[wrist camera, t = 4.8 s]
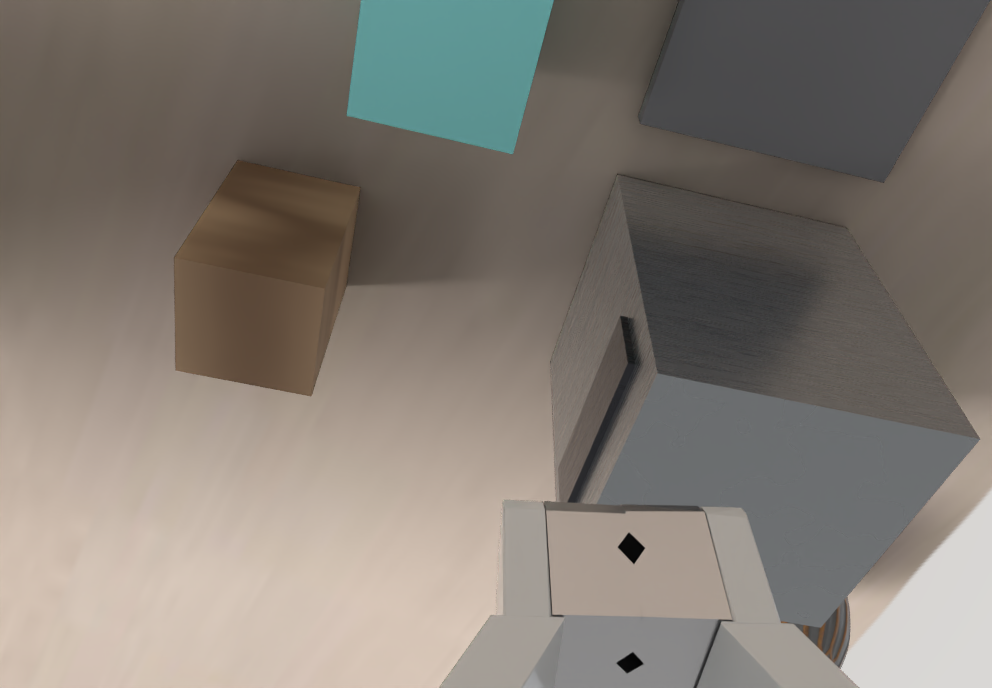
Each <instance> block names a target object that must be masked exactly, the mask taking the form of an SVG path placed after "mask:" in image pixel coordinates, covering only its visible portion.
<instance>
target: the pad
mask: <svg viewBox="0 0 992 688" xmlns="http://www.w3.org/2000/svg"><path fill="white" fill-rule="evenodd" d="M989 2H990V0H679V3H678V6H677V8H676V11H675V14H674V17H673V20H672V22H671V25H670V28H669V31H668V34H667V36H666V39H665V42H664V45H663V48H662V50H661V53H660V56H659V59H658V62H657V64H656V67H655V70H654V73H653V76H652V78H651V81H650V84H649V87H648V90H647V92H646V95H645V98H644V101H643V104H642V106H641V109H640V112H639V115H638V118H639V121H640V124H643V125H647V126H651V127H655V128H659V129H663V130H667V131H672V132H676V133H680V134H684V135H688V136H692V137H697V138H701V139H705V140H709V141H713V142H717V143H721V144H726V145H730V146H734V147H738V148H742V149H746V150H750V151H755V152H759V153H763V154H767V155H771V156H775V157H779V158H784V159H788V160H792V161H796V162H800V163H804V164H808V165H813V166H817V167H821V168H825V169H829V170H833V171H837V172H842V173H846V174H850V175H854V176H858V177H862V178H866V179H871V180H875V181H879V182H883V183H884V182H885V180H886V178H887V177H888V175H889V173H890V171H891V170H892V168H893V166H894V165H895V163H896V161H897V159H898V158H899V156H900V154H901V153H902V151H903V149H904V147H905V146H906V144H907V142H908V141H909V139H910V137H911V135H912V134H913V132H914V130H915V129H916V127H917V125H918V123H919V122H920V120H921V118H922V117H923V115H924V113H925V111H926V110H927V108H928V106H929V105H930V103H931V101H932V99H933V98H934V96H935V94H936V93H937V91H938V89H939V87H940V86H941V84H942V82H943V81H944V79H945V77H946V75H947V74H948V72H949V70H950V69H951V67H952V65H953V63H954V62H955V60H956V58H957V57H958V55H959V53H960V51H961V50H962V48H963V46H964V45H965V43H966V41H967V39H968V38H969V36H970V34H971V33H972V31H973V29H974V27H975V26H976V24H977V22H978V21H979V19H980V17H981V15H982V14H983V12H984V10H985V9H986V7H987V5H988V3H989Z"/></svg>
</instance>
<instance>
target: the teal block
mask: <svg viewBox="0 0 992 688" xmlns="http://www.w3.org/2000/svg"><path fill="white" fill-rule="evenodd" d="M553 2H554V0H361V4H360V12H359V20H358V28H357V36H356V44H355V52H354V60H353V68H352V76H351V84H350V92H349V100H348V108H347V116H350V117H354V118H359V119H363V120H367V121H372V122H376V123H380V124H385V125H389V126H393V127H397V128H402V129H406V130H410V131H415V132H419V133H423V134H428V135H432V136H436V137H440V138H445V139H449V140H453V141H458V142H462V143H466V144H471V145H475V146H479V147H483V148H488V149H492V150H496V151H501V152H505V153H509V154H513V152H514V148H515V145H516V141H517V137H518V133H519V130H520V126H521V122H522V118H523V115H524V111H525V107H526V103H527V100H528V96H529V92H530V88H531V84H532V81H533V77H534V73H535V69H536V66H537V62H538V58H539V54H540V51H541V47H542V43H543V39H544V35H545V32H546V28H547V24H548V20H549V17H550V13H551V9H552V5H553Z"/></svg>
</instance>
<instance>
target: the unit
mask: <svg viewBox="0 0 992 688" xmlns="http://www.w3.org/2000/svg"><path fill="white" fill-rule="evenodd" d="M550 364H551V390H552V415H553V440H554V466H555V491H556V502H567V503H585V504H602V505H621V504H631V505H684V506H698V507H735V508H742V509H743V511H744V512H745V513H746V514H747V517H748V520H749V523H750V526H751V529H752V533H753V536H754V539H755V542H756V545H757V548H758V552H759V555H760V558H761V561H762V564H763V567H764V571H765V574H766V577H767V580H768V583H769V586H770V590H771V593H772V596H773V599H774V602H775V605H776V609H777V612H778V615H779V618H780V621H784V622H790V623H795V624H801V625H807V626H813V627H819V628H821V627H822V626H823V624H824V623H825V622H826V621H827V620H828V618H829V617H830V616H831V615H832V614H833V613H834V611H835V610H836V609H837V608H838V607H839V605H840V604H841V603H842V602H843V601H844V600H845V598H846V597H847V596H848V595H849V594H850V592H851V591H852V590H853V589H854V588H855V587H856V585H857V584H858V583H859V582H860V581H861V579H862V578H863V577H864V576H865V575H866V574H867V572H868V571H869V570H870V569H871V568H872V566H873V565H874V564H875V563H876V562H877V561H878V559H879V558H880V557H881V556H882V555H883V553H884V552H885V551H886V550H887V549H888V548H889V546H890V545H891V544H892V543H893V542H894V540H895V539H896V538H897V537H898V536H899V535H900V533H901V532H902V531H903V530H904V529H905V527H906V526H907V525H908V524H909V523H910V522H911V520H912V519H913V518H914V517H915V516H916V514H917V513H918V512H919V511H920V510H921V509H922V507H923V506H924V505H925V504H926V503H927V501H928V500H929V499H930V498H931V497H932V496H933V494H934V493H935V492H936V491H937V490H938V488H939V487H940V486H941V485H942V484H943V483H944V481H945V480H946V479H947V478H948V477H949V475H950V474H951V473H952V472H953V471H954V470H955V468H956V467H957V466H958V465H959V464H960V462H961V461H962V460H963V459H964V458H965V457H966V455H967V454H968V453H969V452H970V451H971V449H972V448H973V447H974V446H975V445H976V444H977V442H978V441H979V440H980V438H979V436H978V435H977V433H976V432H975V430H974V429H973V427H972V425H971V424H970V422H969V421H968V419H967V417H966V416H965V414H964V413H963V411H962V410H961V408H960V406H959V405H958V403H957V402H956V400H955V398H954V397H953V395H952V394H951V392H950V391H949V389H948V387H947V386H946V384H945V383H944V381H943V379H942V378H941V376H940V375H939V373H938V372H937V370H936V368H935V367H934V365H933V364H932V362H931V360H930V359H929V357H928V356H927V354H926V353H925V351H924V349H923V348H922V346H921V345H920V343H919V341H918V340H917V338H916V337H915V335H914V334H913V332H912V330H911V329H910V327H909V326H908V324H907V323H906V321H905V319H904V318H903V316H902V315H901V313H900V311H899V310H898V308H897V307H896V305H895V304H894V302H893V300H892V299H891V297H890V296H889V294H888V292H887V291H886V289H885V288H884V286H883V285H882V283H881V281H880V280H879V278H878V277H877V275H876V273H875V272H874V270H873V269H872V267H871V266H870V264H869V262H868V261H867V259H866V258H865V256H864V254H863V253H862V251H861V250H860V248H859V247H858V245H857V243H856V242H855V240H854V239H853V237H852V235H851V234H850V232H849V231H848V229H847V228H846V227H841V226H837V225H833V224H828V223H824V222H820V221H816V220H811V219H807V218H803V217H798V216H794V215H790V214H786V213H781V212H777V211H773V210H768V209H764V208H760V207H755V206H751V205H747V204H743V203H738V202H734V201H730V200H725V199H721V198H717V197H712V196H708V195H704V194H700V193H695V192H691V191H687V190H682V189H678V188H674V187H670V186H665V185H661V184H657V183H652V182H648V181H644V180H639V179H635V178H631V177H627V176H622V175H618V174H617V176H616V179H615V182H614V185H613V188H612V190H611V193H610V196H609V199H608V202H607V204H606V207H605V210H604V213H603V216H602V218H601V221H600V224H599V227H598V230H597V232H596V235H595V238H594V241H593V244H592V247H591V249H590V252H589V255H588V258H587V261H586V263H585V266H584V269H583V272H582V275H581V277H580V280H579V283H578V286H577V289H576V291H575V294H574V297H573V300H572V303H571V305H570V308H569V311H568V314H567V317H566V319H565V322H564V325H563V328H562V331H561V333H560V336H559V339H558V342H557V345H556V347H555V350H554V353H553V356H552V359H551V361H550Z"/></svg>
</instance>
